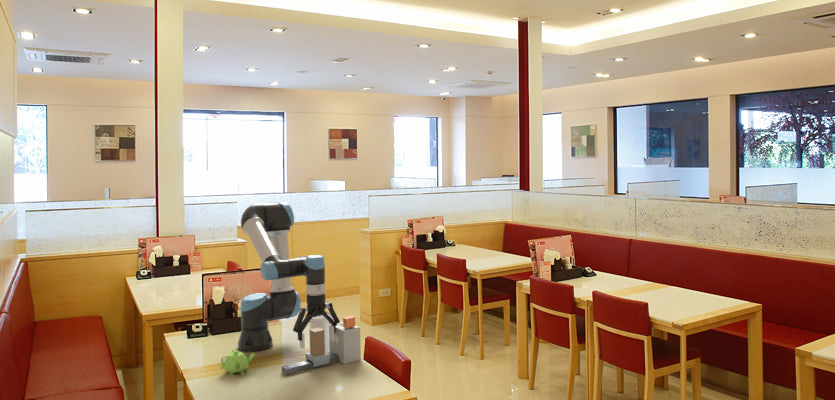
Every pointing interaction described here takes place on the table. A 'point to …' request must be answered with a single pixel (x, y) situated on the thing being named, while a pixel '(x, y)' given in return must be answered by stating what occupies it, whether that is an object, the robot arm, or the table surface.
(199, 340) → the table surface
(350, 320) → the block
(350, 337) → the cabinet
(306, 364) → the rail
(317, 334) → the carriage
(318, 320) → the cup
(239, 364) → the teapot
